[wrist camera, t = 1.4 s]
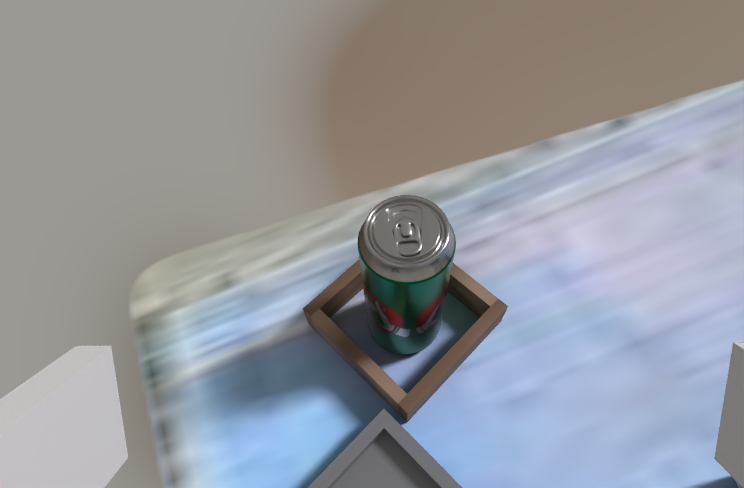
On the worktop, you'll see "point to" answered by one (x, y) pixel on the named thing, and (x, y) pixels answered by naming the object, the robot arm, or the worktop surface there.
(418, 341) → the soda can
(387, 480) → the grey tray
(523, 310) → the worktop surface
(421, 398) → the walnut collar
